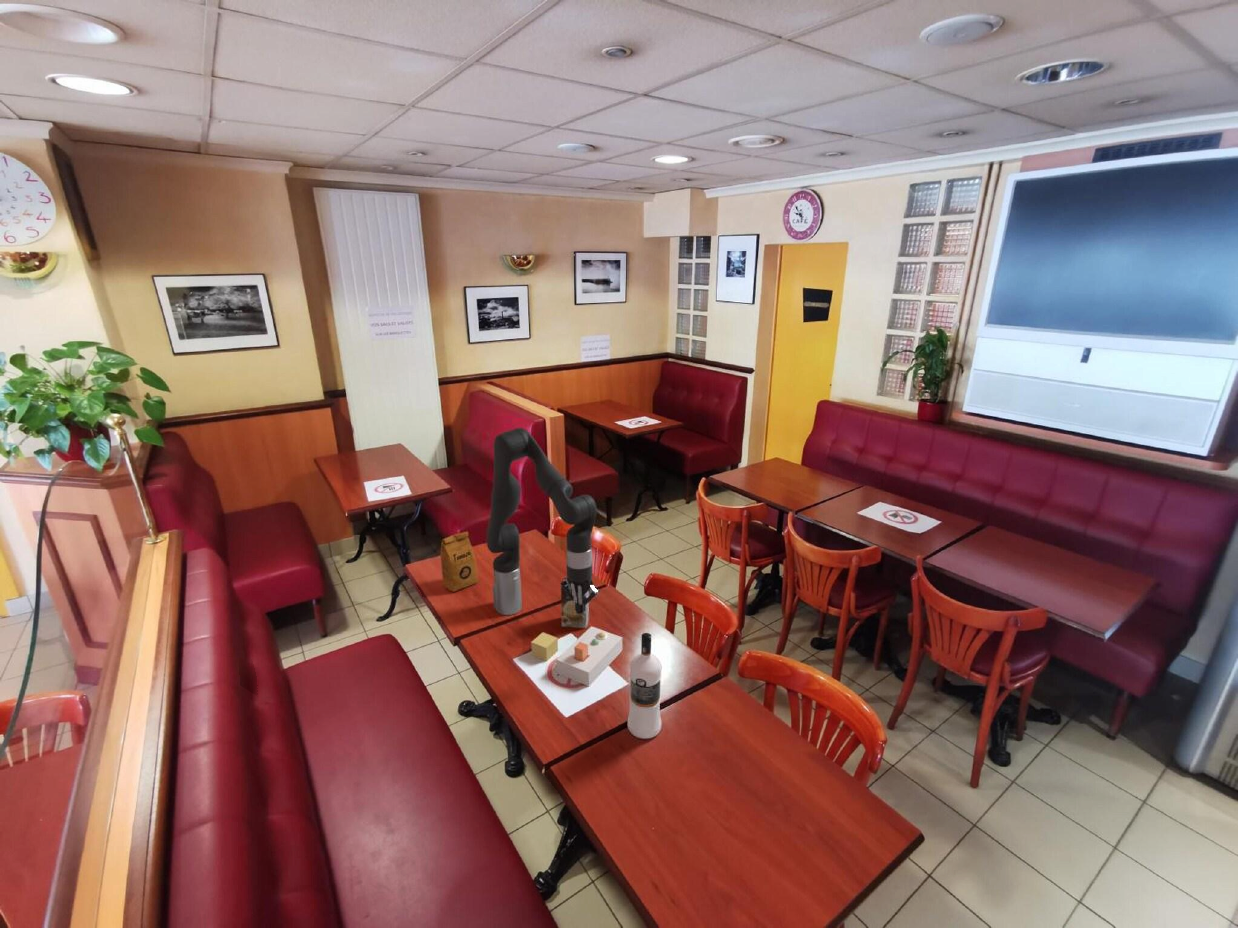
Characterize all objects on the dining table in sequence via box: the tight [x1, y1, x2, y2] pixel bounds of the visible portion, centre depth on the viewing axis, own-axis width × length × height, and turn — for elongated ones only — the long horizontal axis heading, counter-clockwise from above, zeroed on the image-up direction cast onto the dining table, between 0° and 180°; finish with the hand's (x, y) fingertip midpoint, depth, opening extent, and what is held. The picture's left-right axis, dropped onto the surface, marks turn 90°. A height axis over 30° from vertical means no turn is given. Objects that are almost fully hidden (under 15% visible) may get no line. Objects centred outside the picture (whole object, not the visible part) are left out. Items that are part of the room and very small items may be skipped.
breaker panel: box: [555, 626, 623, 687], centre depth 186 cm, size 12×20×6 cm, turn 150°
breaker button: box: [574, 642, 588, 662], centre depth 181 cm, size 3×3×5 cm
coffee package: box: [440, 531, 479, 593], centre depth 227 cm, size 10×12×22 cm
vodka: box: [627, 632, 662, 740], centre depth 155 cm, size 9×9×30 cm
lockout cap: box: [530, 632, 559, 662], centre depth 190 cm, size 6×6×5 cm
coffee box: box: [560, 577, 590, 629], centre depth 204 cm, size 9×6×16 cm
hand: (580, 612), depth 176 cm, fingers closed
